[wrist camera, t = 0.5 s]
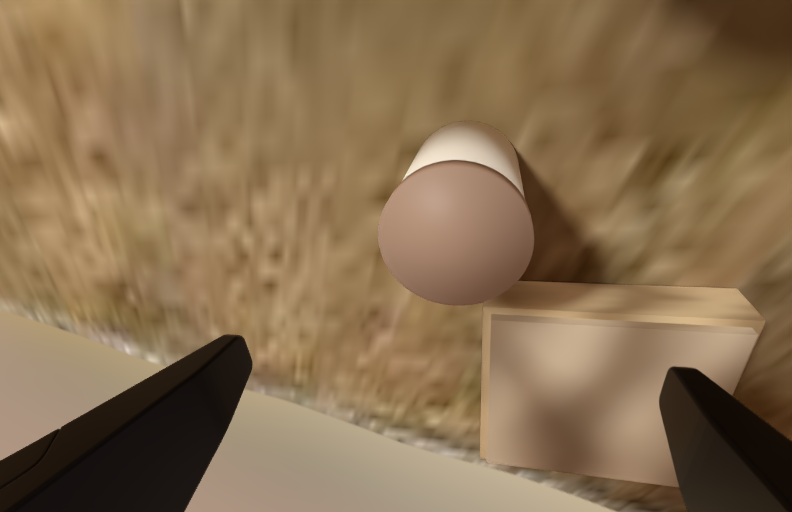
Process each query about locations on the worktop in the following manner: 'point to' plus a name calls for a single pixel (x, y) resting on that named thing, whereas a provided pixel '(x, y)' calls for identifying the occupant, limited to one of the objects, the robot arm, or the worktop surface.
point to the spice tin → (459, 218)
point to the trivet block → (601, 371)
